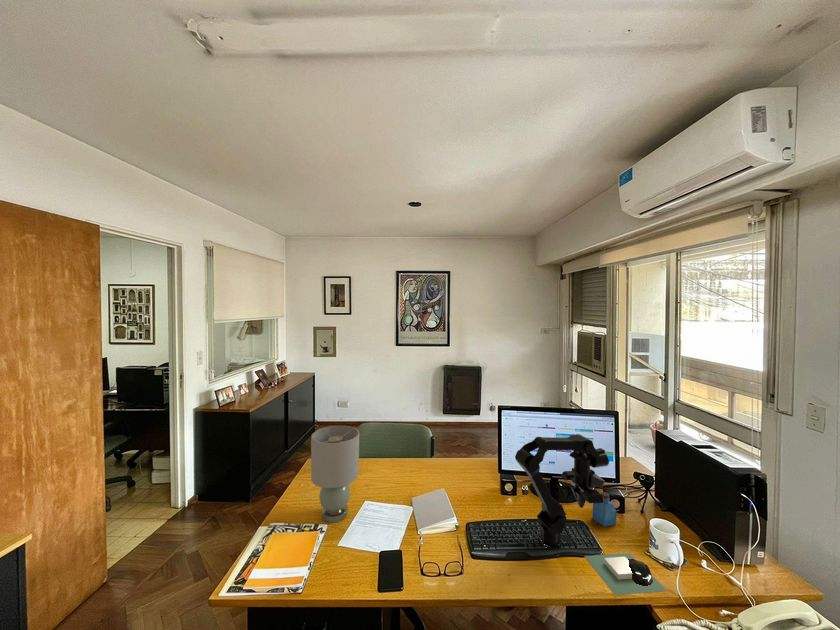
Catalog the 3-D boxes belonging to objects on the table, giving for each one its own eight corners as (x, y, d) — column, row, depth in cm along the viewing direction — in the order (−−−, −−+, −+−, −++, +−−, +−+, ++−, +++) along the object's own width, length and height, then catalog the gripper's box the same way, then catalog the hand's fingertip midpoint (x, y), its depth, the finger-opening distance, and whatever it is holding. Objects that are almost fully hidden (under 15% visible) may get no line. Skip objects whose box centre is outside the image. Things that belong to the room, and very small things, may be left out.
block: (603, 563, 114) (618, 580, 107) (604, 558, 114) (618, 574, 107) (624, 562, 114) (640, 578, 107) (624, 556, 114) (640, 572, 107)
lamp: (346, 534, 127) (347, 445, 126) (300, 526, 131) (301, 440, 130) (365, 504, 147) (366, 427, 146) (324, 498, 151) (325, 423, 150)
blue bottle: (604, 527, 133) (604, 499, 133) (592, 518, 139) (593, 490, 139) (616, 525, 135) (616, 497, 135) (604, 516, 141) (604, 489, 141)
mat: (615, 596, 101) (615, 595, 101) (583, 557, 117) (583, 556, 117) (667, 591, 103) (667, 590, 103) (629, 554, 119) (629, 552, 119)
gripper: (617, 479, 119) (616, 521, 119) (586, 456, 137) (585, 492, 137) (589, 481, 117) (588, 523, 118) (561, 457, 136) (560, 494, 136)
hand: (581, 507), depth 127 cm, fingers closed
